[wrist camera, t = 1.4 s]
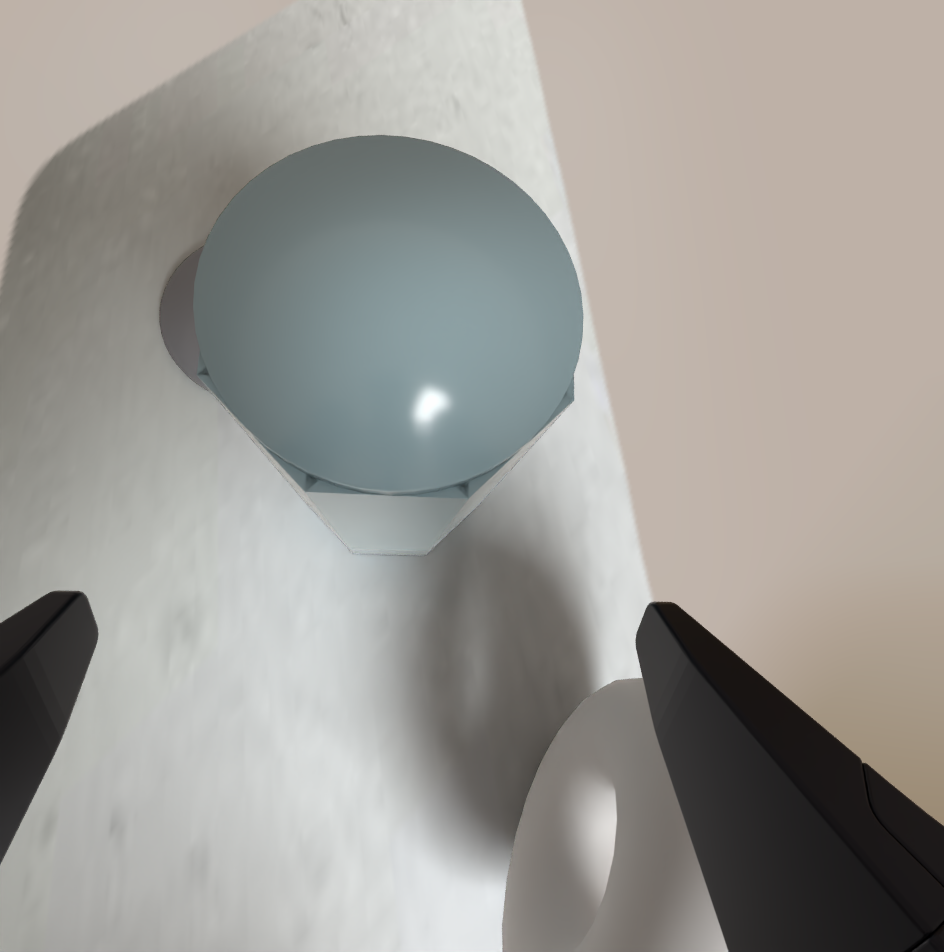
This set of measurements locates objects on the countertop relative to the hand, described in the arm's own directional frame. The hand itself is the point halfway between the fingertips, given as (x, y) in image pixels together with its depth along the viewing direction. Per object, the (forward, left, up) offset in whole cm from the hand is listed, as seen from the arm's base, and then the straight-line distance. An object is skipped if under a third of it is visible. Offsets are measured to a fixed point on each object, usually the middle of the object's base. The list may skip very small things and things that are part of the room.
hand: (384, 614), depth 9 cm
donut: (-9, -1, -12) cm, 15 cm away
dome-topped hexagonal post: (+4, -3, -12) cm, 13 cm away
